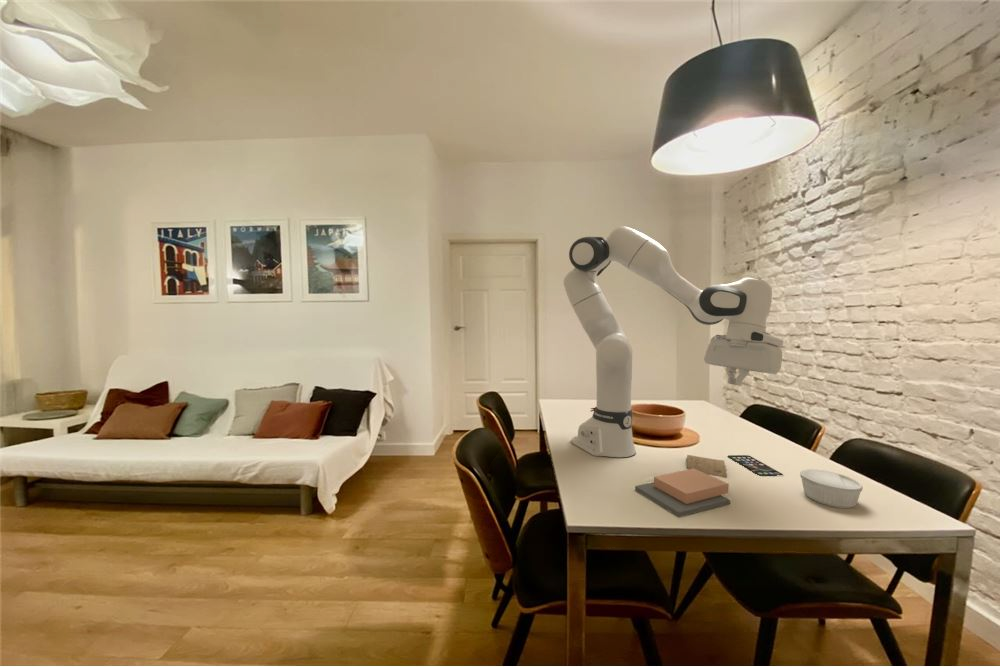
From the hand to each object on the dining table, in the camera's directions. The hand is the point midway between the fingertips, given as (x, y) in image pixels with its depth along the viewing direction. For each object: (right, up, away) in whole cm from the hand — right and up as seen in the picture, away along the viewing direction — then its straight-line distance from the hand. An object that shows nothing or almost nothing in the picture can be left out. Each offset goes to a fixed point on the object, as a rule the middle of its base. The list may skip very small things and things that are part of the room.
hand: (734, 384), depth 103 cm
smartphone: (+11, -26, +8) cm, 29 cm away
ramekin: (+15, -27, -12) cm, 33 cm away
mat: (-20, -26, -11) cm, 35 cm away
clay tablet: (-4, -26, +8) cm, 28 cm away
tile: (-11, -24, -7) cm, 27 cm away
